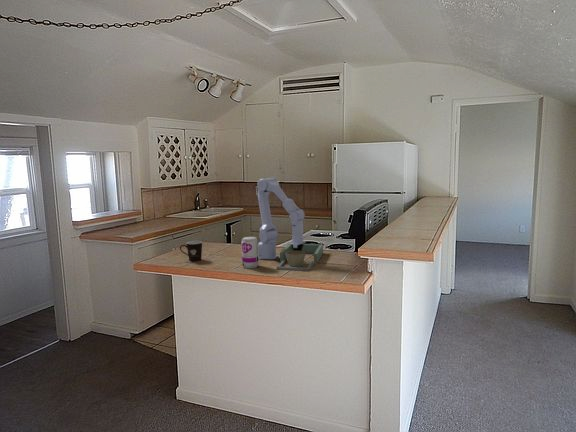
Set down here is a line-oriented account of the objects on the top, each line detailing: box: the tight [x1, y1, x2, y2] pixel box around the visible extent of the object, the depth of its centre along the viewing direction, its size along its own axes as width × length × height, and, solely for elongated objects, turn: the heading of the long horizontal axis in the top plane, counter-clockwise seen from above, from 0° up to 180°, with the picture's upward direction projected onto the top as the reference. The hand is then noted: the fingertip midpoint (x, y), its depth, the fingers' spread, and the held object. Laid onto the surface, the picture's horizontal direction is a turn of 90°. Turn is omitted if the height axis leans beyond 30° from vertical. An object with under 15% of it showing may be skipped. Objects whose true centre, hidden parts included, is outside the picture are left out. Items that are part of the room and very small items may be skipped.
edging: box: [276, 259, 315, 272], centre depth 217 cm, size 16×14×1 cm
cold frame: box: [279, 243, 324, 264], centre depth 235 cm, size 20×23×5 cm
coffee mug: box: [179, 240, 203, 263], centre depth 235 cm, size 12×9×10 cm
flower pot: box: [286, 251, 306, 267], centre depth 217 cm, size 10×10×7 cm
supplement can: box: [240, 236, 259, 269], centre depth 218 cm, size 8×8×15 cm
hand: (298, 258), depth 224 cm, fingers closed
